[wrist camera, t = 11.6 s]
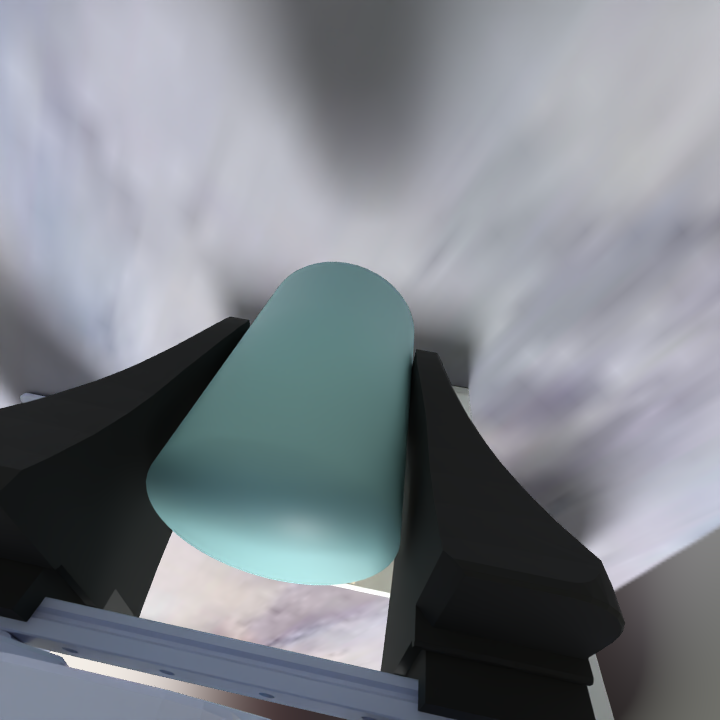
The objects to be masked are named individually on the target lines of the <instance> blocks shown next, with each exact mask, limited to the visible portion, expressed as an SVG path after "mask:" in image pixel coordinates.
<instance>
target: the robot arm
mask: <svg viewBox="0 0 720 720" xmlns="http://www.w3.org/2000/svg"><path fill="white" fill-rule="evenodd" d="M249 327H250V322H249V320H246V319H240V318H234V317H228V318H226V319H224V320H222V321H220V322H218V323H216V324H215V325H213V326H211V327H209V328H207V329H205V330H204V331H202V332H200V333H198V334H196V335H194V336H193V337H191V338H189V339H187V340H185V341H183V342H181V343H179V344H178V345H176V346H174V347H172V348H170V349H168V350H166V351H164V352H162V353H160V354H158V355H155V356H153V357H151V358H149V359H147V360H145V361H143V362H141V363H139V364H137V365H134V366H132V367H130V368H127V369H125V370H123V371H120V372H118V373H115V374H112V375H110V376H107V377H105V378H102V379H99V380H97V381H94V382H91V383H88V384H85V385H82V386H79V387H76V388H72V389H69V390H66V391H63V392H60V393H57V394H54V395H50V396H47V397H45V396H40V395H35V394H30V393H24V394H23V395H21V396H20V400H21V402H22V403H21V404H17V405H13V406H9V407H5V408H1V409H0V720H271V719H268V718H264V717H261V716H258V715H254V714H251V713H247V712H244V711H240V710H237V709H234V708H230V707H227V706H223V705H220V704H216V703H213V702H209V701H205V700H201V699H198V698H194V697H190V696H187V695H184V694H180V693H176V692H173V691H170V690H165V689H161V688H157V687H152V686H148V685H144V684H139V683H135V682H131V681H127V680H122V679H118V678H114V677H109V676H105V675H101V674H96V673H92V672H88V671H84V670H79V669H75V668H71V667H69V666H68V665H67V664H66V662H65V661H64V659H63V658H62V657H60V656H58V655H55V654H52V653H49V652H50V651H54V652H58V653H62V654H66V655H71V656H75V657H80V658H84V659H89V660H93V661H97V662H101V663H106V664H110V665H115V666H119V667H123V668H127V669H132V670H137V671H141V672H145V673H149V674H153V675H158V676H162V677H166V678H171V679H175V680H179V681H184V682H188V683H193V684H197V685H201V686H205V687H210V688H214V689H218V690H223V691H227V692H231V693H236V694H240V695H244V696H249V697H253V698H257V699H262V700H266V701H271V702H275V703H279V704H283V705H288V706H292V707H296V708H301V709H305V710H310V711H314V712H318V713H322V714H327V715H331V716H335V717H340V718H344V719H349V720H596V719H595V715H594V711H593V707H592V703H591V699H590V695H589V691H588V687H587V686H591V685H593V683H594V677H593V673H592V670H591V666H590V662H589V657H591V656H592V655H594V654H595V653H597V652H599V651H600V650H602V649H603V648H605V647H606V646H608V645H609V644H611V643H613V642H614V641H615V640H616V639H617V638H618V637H619V636H620V635H621V633H622V632H623V629H624V625H625V622H624V619H623V616H622V613H621V610H620V607H619V605H618V602H617V598H616V595H615V592H614V590H613V587H612V584H611V582H610V580H609V577H608V575H607V573H606V571H605V568H604V566H603V564H602V561H601V560H600V559H599V558H597V557H596V556H595V555H594V554H593V553H592V552H591V551H589V550H588V549H587V548H586V547H585V546H584V545H582V544H581V543H580V542H579V541H578V540H577V539H576V538H574V537H573V536H572V535H571V534H570V533H569V532H568V531H566V530H565V529H564V528H563V527H562V526H561V525H560V524H559V523H557V522H556V521H555V520H554V519H553V518H552V517H551V516H550V515H549V514H548V513H547V512H546V511H545V510H544V509H543V508H542V507H541V506H540V505H539V504H538V503H537V502H536V501H535V500H534V499H533V498H532V497H531V496H530V495H529V494H528V493H527V492H526V491H525V490H524V488H523V487H522V486H521V485H520V484H519V483H518V482H517V481H516V480H515V478H514V477H513V476H512V475H511V474H510V473H509V472H508V471H507V469H506V468H505V467H504V466H503V465H502V463H501V462H500V461H499V460H498V458H497V457H496V456H495V455H494V453H493V452H492V451H491V449H490V448H489V446H488V445H487V444H486V442H485V441H484V439H483V438H482V437H481V435H480V434H479V432H478V431H477V429H476V427H475V426H474V424H473V423H472V421H471V419H470V418H469V416H468V415H467V413H466V411H465V409H464V408H463V406H462V404H461V402H460V400H459V398H458V396H457V395H456V393H455V391H454V389H453V387H452V385H451V383H450V380H449V378H448V376H447V374H446V372H445V369H444V367H443V364H442V362H441V359H440V357H439V355H438V354H437V353H434V352H428V351H422V350H417V349H416V353H415V357H414V361H413V365H412V376H411V392H410V407H409V421H408V436H407V451H406V466H405V480H404V495H403V510H402V524H401V539H400V546H399V551H398V553H397V555H396V557H395V559H394V566H393V575H392V584H391V592H390V601H389V609H388V618H387V626H386V634H385V642H384V650H383V658H382V665H381V671H376V670H372V669H367V668H363V667H358V666H354V665H349V664H345V663H340V662H336V661H331V660H327V659H322V658H318V657H313V656H309V655H304V654H300V653H295V652H291V651H286V650H282V649H277V648H273V647H269V646H264V645H260V644H255V643H251V642H246V641H242V640H237V639H233V638H228V637H224V636H219V635H215V634H210V633H206V632H201V631H197V630H192V629H188V628H183V627H179V626H174V625H170V624H165V623H161V622H156V621H152V620H147V619H143V618H139V616H140V613H141V610H142V607H143V605H144V602H145V599H146V597H147V594H148V591H149V589H150V586H151V584H152V581H153V578H154V576H155V573H156V570H157V568H158V565H159V563H160V560H161V558H162V555H163V553H164V550H165V548H166V546H167V543H168V541H169V538H170V536H171V533H172V531H173V530H172V529H170V528H169V527H168V526H167V525H166V523H165V522H164V521H163V520H162V519H161V518H160V516H159V515H158V514H157V512H156V511H155V509H154V508H153V506H152V504H151V502H150V500H149V496H148V493H147V487H146V479H147V473H148V471H149V469H150V466H151V464H152V463H153V462H154V460H155V459H156V457H157V456H158V455H159V453H160V452H161V450H162V449H163V448H164V446H165V445H166V443H167V442H168V441H169V439H170V438H171V436H172V435H173V434H174V432H175V431H176V429H177V428H178V427H179V425H180V424H181V423H182V421H183V420H184V418H185V417H186V416H187V414H188V413H189V411H190V410H191V409H192V407H193V406H194V404H195V403H196V402H197V400H198V399H199V397H200V396H201V395H202V393H203V392H204V390H205V389H206V388H207V386H208V385H209V383H210V382H211V381H212V379H213V378H214V376H215V375H216V374H217V372H218V371H219V369H220V368H221V367H222V365H223V364H224V362H225V361H226V360H227V358H228V357H229V355H230V354H231V353H232V351H233V350H234V348H235V347H236V346H237V344H238V343H239V341H240V340H241V339H242V337H243V336H244V334H245V333H246V332H247V330H248V329H249Z"/></svg>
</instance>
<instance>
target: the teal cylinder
mask: <svg viewBox="0 0 720 720" xmlns="http://www.w3.org/2000/svg"><path fill="white" fill-rule="evenodd" d="M413 348H414V324H413V319H412V315H411V312H410V310H409V308H408V306H407V304H406V302H405V300H404V299H403V297H402V296H401V294H400V293H399V292H398V291H397V290H396V289H395V288H394V287H393V286H392V285H391V284H390V283H389V282H388V281H387V280H385V279H384V278H382V277H381V276H379V275H378V274H376V273H374V272H372V271H370V270H368V269H366V268H363V267H360V266H357V265H353V264H349V263H342V262H323V263H317V264H313V265H309V266H306V267H304V268H302V269H299V270H297V271H296V272H294V273H293V274H291V275H290V276H288V277H287V278H286V279H285V280H284V281H283V282H282V283H281V285H280V286H279V287H278V288H277V290H276V291H275V293H274V294H273V295H272V297H271V298H270V300H269V301H268V302H267V304H266V305H265V307H264V308H263V309H262V311H261V312H260V314H259V315H258V316H257V318H256V319H255V320H254V322H253V323H252V325H251V326H250V327H249V329H248V330H247V332H246V333H245V334H244V336H243V337H242V339H241V340H240V341H239V343H238V344H237V346H236V347H235V348H234V350H233V351H232V353H231V354H230V355H229V357H228V358H227V360H226V361H225V362H224V364H223V365H222V367H221V368H220V369H219V371H218V372H217V374H216V375H215V376H214V378H213V379H212V381H211V382H210V383H209V385H208V386H207V388H206V389H205V390H204V392H203V393H202V395H201V396H200V397H199V399H198V400H197V402H196V403H195V404H194V406H193V407H192V409H191V410H190V411H189V413H188V414H187V416H186V417H185V418H184V420H183V421H182V423H181V424H180V425H179V427H178V428H177V429H176V431H175V432H174V434H173V435H172V436H171V438H170V439H169V441H168V442H167V443H166V445H165V446H164V448H163V449H162V450H161V452H160V453H159V455H158V456H157V457H156V459H155V460H154V462H153V463H152V464H151V466H150V469H149V471H148V473H147V479H146V487H147V493H148V496H149V500H150V502H151V504H152V506H153V508H154V509H155V511H156V512H157V514H158V515H159V516H160V518H161V519H162V520H163V521H164V522H165V523H166V525H167V526H168V527H169V528H170V529H172V530H173V531H174V532H175V533H176V534H177V535H178V536H180V537H181V538H182V539H183V540H185V541H186V542H187V543H189V544H190V545H192V546H193V547H195V548H196V549H198V550H200V551H201V552H203V553H205V554H207V555H208V556H210V557H212V558H214V559H216V560H218V561H220V562H222V563H225V564H227V565H229V566H232V567H234V568H237V569H239V570H242V571H245V572H248V573H251V574H254V575H258V576H261V577H265V578H269V579H273V580H278V581H283V582H289V583H297V584H306V585H337V584H345V583H352V582H356V581H360V580H364V579H366V578H369V577H371V576H374V575H376V574H377V573H379V572H381V571H383V570H384V569H385V568H386V567H388V566H389V565H390V564H391V562H392V561H393V560H394V559H395V557H396V555H397V553H398V551H399V546H400V539H401V524H402V510H403V495H404V480H405V466H406V451H407V436H408V421H409V407H410V392H411V376H412V363H413Z"/></svg>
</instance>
